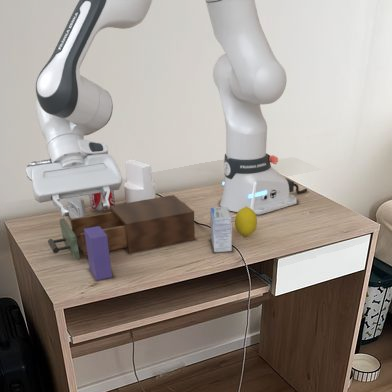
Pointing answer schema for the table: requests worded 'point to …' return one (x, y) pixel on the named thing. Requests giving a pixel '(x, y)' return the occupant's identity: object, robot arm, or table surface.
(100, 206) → the soda can
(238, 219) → the lemon
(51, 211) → the table surface
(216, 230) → the medicine box
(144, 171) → the cylinder with rectangular tab
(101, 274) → the snack bar carton
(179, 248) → the table surface
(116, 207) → the cabinet
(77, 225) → the drawer
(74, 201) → the cassette
